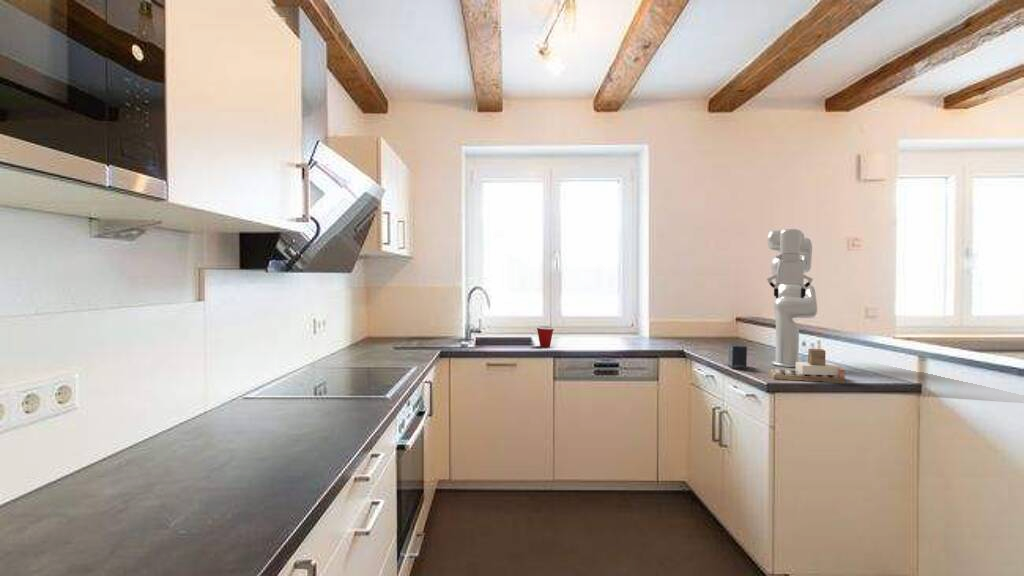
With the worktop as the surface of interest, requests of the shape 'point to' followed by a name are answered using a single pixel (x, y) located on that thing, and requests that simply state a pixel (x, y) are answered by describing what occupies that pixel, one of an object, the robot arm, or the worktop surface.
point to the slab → (817, 369)
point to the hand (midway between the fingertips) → (789, 298)
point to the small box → (737, 356)
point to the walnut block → (816, 357)
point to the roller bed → (808, 376)
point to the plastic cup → (545, 335)
